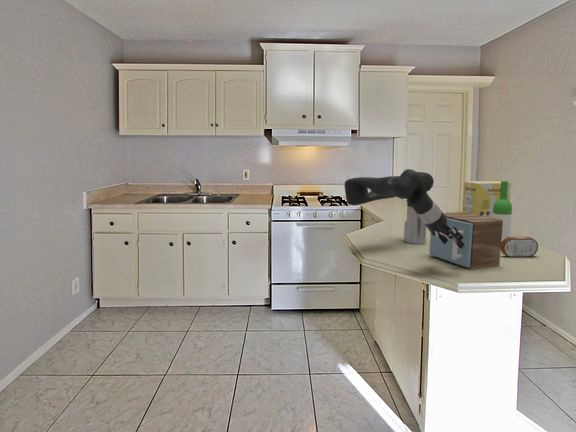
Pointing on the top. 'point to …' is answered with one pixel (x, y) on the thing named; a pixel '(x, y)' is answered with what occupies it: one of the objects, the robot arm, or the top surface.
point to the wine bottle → (503, 210)
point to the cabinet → (482, 238)
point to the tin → (519, 246)
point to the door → (454, 244)
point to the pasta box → (482, 197)
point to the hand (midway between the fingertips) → (454, 244)
